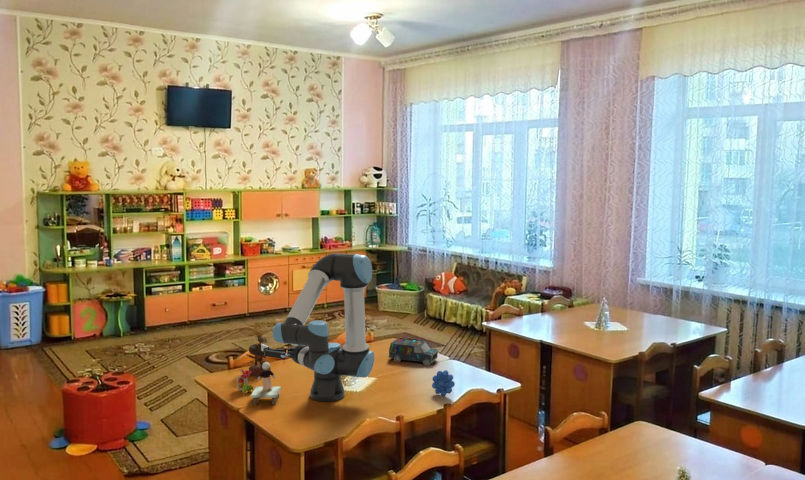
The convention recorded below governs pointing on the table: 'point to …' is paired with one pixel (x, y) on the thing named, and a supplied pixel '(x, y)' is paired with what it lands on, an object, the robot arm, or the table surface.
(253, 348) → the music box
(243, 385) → the flower ornament
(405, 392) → the table surface
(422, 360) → the toy van
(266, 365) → the grandmother figurine
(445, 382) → the blue bumpy round piece
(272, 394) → the miniature table
